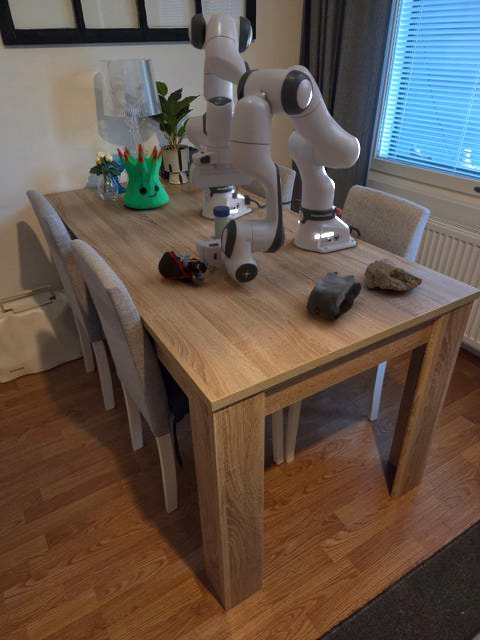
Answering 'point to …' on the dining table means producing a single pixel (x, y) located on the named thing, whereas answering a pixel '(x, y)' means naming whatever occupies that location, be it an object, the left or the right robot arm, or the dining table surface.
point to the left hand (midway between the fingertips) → (221, 199)
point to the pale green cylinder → (220, 225)
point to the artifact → (389, 276)
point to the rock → (333, 295)
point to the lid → (221, 211)
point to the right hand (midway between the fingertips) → (221, 237)
